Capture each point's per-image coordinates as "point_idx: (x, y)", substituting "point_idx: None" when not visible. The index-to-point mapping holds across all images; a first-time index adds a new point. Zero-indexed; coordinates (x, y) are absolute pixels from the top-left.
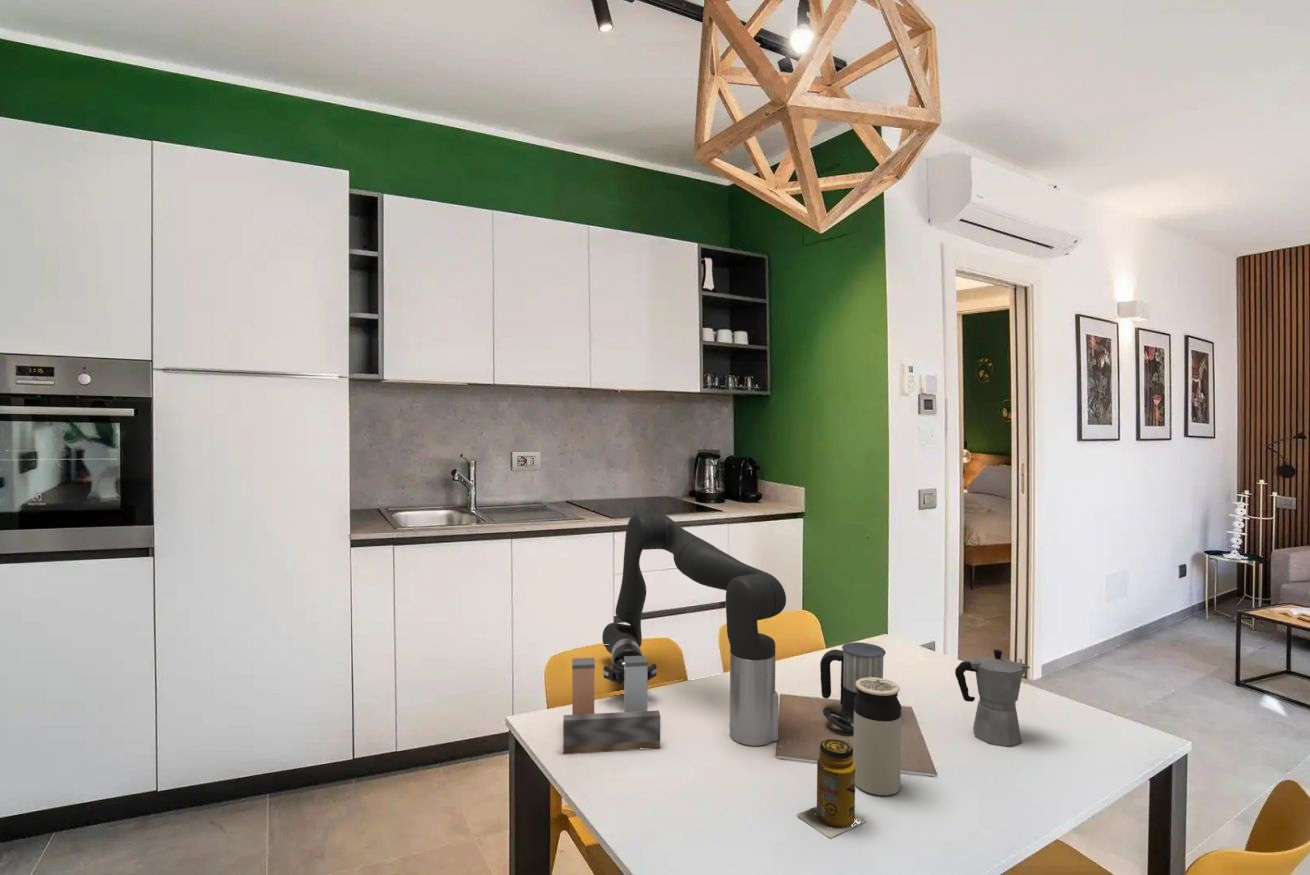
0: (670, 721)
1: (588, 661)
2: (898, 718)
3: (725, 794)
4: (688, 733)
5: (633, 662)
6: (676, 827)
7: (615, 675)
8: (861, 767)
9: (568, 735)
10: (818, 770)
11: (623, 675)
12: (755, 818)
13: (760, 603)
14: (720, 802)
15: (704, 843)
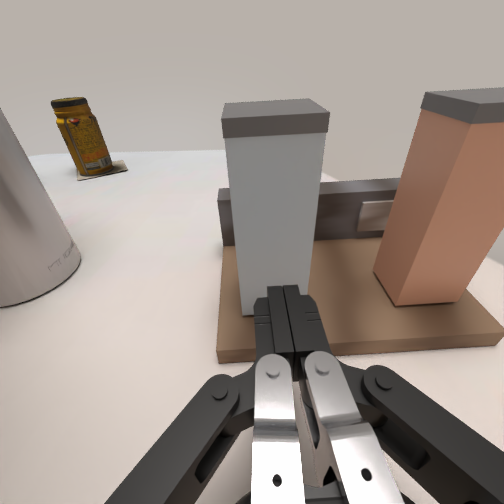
0: (169, 339)
1: (471, 95)
2: None
3: (174, 184)
4: (151, 285)
5: (279, 100)
6: None
7: (426, 457)
8: None
9: None
10: (96, 123)
11: (350, 370)
12: (164, 169)
13: None
14: (185, 178)
15: (217, 157)
